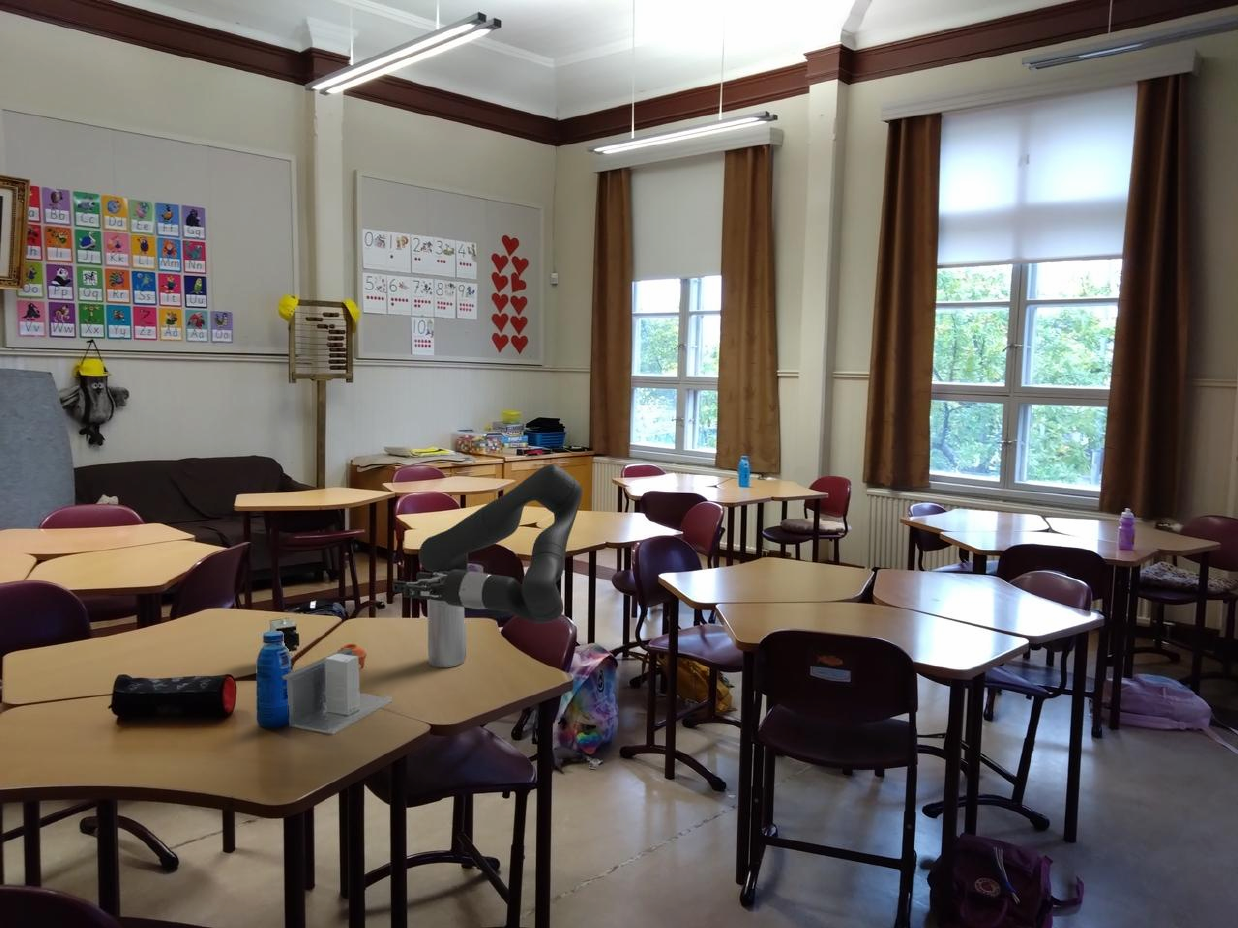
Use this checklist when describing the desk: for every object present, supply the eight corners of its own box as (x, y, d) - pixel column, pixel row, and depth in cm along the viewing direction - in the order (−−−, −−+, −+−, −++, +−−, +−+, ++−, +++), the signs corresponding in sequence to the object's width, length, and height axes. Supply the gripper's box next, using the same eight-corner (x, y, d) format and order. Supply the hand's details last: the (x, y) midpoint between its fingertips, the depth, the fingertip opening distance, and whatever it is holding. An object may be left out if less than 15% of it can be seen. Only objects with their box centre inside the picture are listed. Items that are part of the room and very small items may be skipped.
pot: (364, 673, 217) (356, 647, 216) (333, 680, 217) (326, 654, 216) (373, 661, 225) (366, 636, 224) (344, 668, 225) (337, 643, 224)
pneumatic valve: (278, 673, 217) (277, 626, 216) (269, 660, 227) (268, 614, 226) (302, 669, 220) (300, 622, 219) (292, 656, 230) (291, 611, 229)
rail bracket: (346, 693, 204) (345, 648, 203) (391, 701, 200) (390, 655, 199) (283, 724, 186) (282, 676, 185) (332, 734, 181) (331, 684, 180)
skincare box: (360, 709, 193) (359, 656, 192) (347, 716, 189) (346, 662, 188) (338, 705, 196) (337, 652, 194) (325, 711, 192) (323, 658, 190)
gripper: (488, 564, 188) (424, 557, 194) (452, 579, 175) (384, 571, 181) (488, 599, 189) (424, 590, 195) (452, 615, 176) (384, 606, 182)
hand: (405, 581), depth 188 cm, fingers open, 8 cm apart
